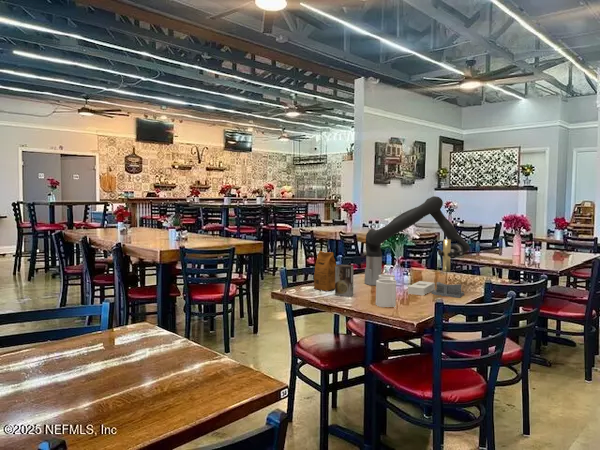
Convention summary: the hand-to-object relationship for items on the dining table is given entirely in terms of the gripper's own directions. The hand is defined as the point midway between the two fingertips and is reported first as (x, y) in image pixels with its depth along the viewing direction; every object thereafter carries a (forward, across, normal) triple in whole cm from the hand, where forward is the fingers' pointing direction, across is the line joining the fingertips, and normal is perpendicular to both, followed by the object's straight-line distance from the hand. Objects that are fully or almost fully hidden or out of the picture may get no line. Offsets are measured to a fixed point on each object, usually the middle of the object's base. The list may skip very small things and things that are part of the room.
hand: (445, 254), depth 251 cm
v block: (0, +2, +22) cm, 22 cm away
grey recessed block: (0, -13, +22) cm, 26 cm away
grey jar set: (+36, -20, +22) cm, 47 cm away
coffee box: (+34, -45, +22) cm, 60 cm away
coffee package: (+27, -61, +22) cm, 70 cm away
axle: (-3, 0, +10) cm, 10 cm away
